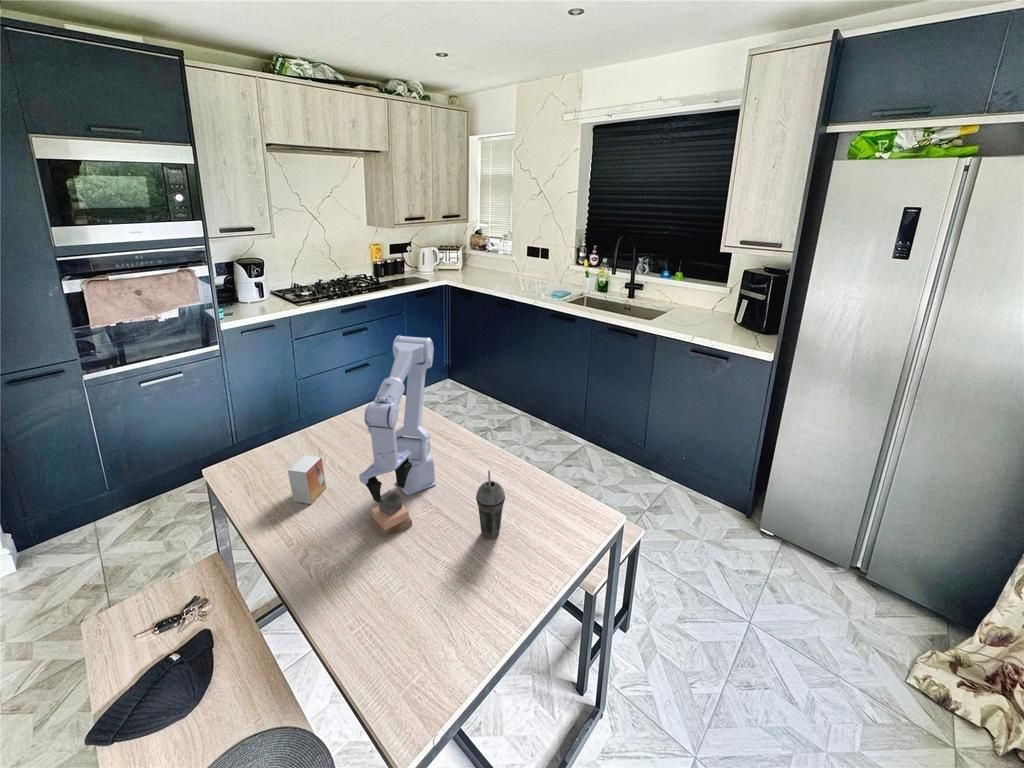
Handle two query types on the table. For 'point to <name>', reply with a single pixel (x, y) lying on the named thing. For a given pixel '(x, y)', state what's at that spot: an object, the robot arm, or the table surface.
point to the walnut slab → (393, 529)
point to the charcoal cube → (390, 503)
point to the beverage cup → (490, 508)
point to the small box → (307, 479)
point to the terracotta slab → (389, 517)
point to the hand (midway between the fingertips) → (389, 493)
